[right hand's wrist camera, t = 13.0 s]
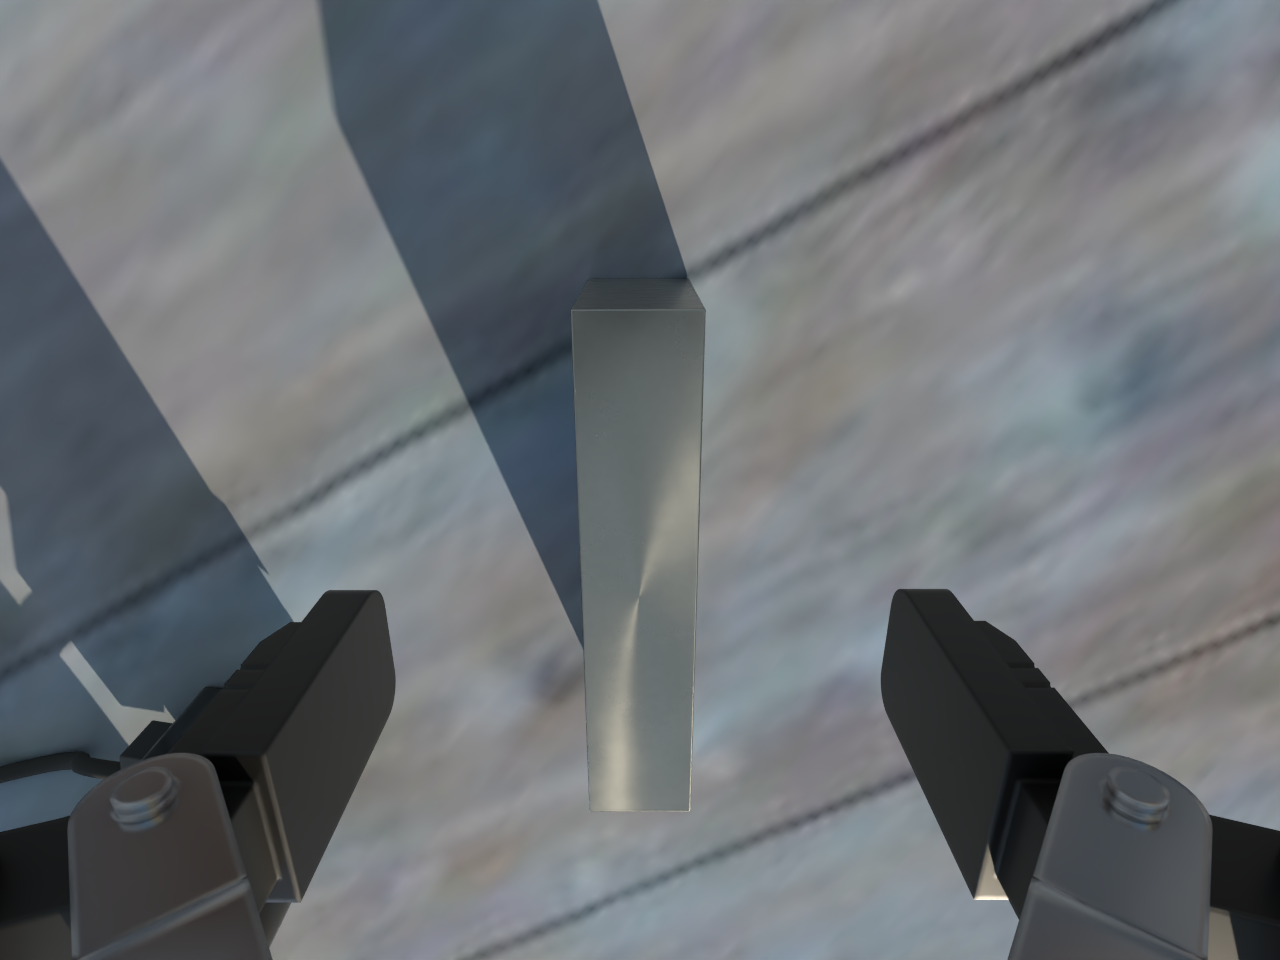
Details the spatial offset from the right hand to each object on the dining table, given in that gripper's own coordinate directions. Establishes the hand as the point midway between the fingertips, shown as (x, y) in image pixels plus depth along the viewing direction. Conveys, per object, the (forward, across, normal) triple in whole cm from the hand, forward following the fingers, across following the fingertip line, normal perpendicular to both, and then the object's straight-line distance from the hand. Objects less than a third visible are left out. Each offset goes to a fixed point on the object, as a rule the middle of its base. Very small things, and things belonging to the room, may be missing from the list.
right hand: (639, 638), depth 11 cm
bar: (+25, 0, -9) cm, 26 cm away
